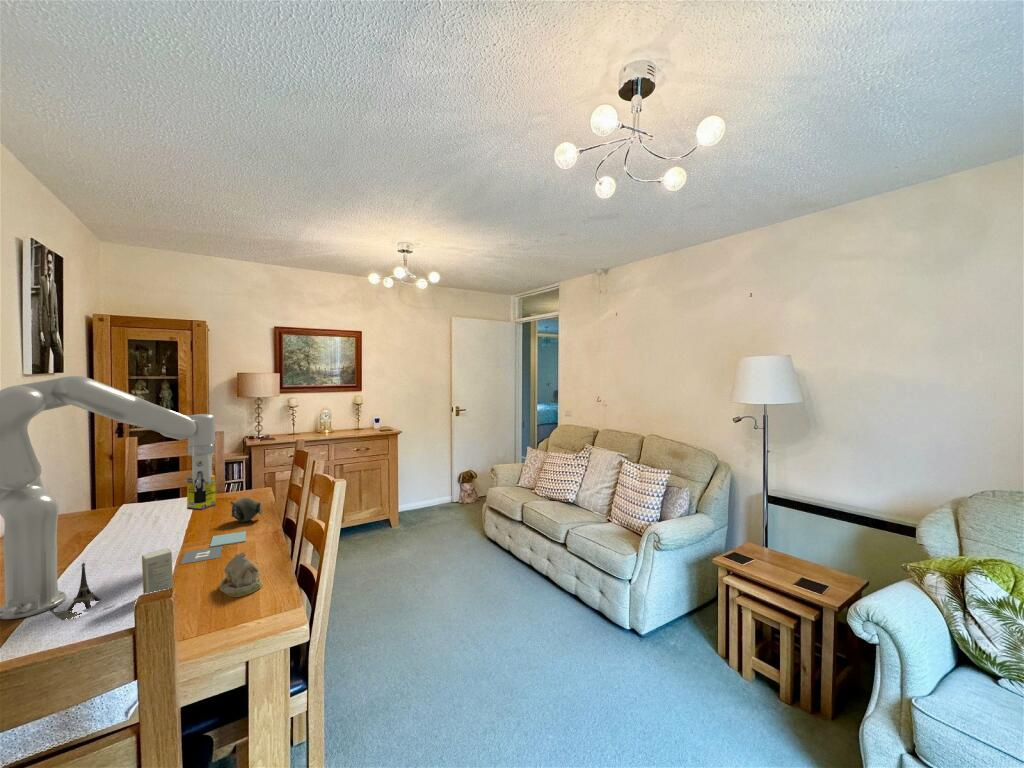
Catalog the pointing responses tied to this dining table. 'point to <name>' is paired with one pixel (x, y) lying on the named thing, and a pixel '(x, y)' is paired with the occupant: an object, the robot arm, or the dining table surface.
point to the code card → (202, 555)
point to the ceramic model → (240, 577)
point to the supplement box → (210, 494)
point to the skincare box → (157, 571)
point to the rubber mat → (228, 539)
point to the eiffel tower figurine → (78, 598)
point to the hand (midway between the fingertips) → (201, 499)
